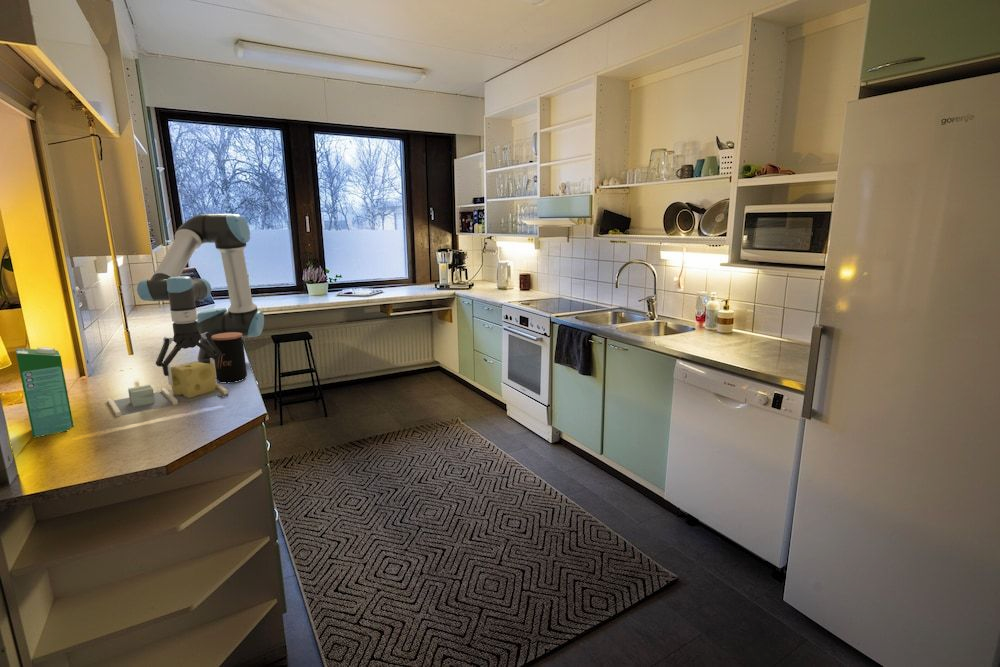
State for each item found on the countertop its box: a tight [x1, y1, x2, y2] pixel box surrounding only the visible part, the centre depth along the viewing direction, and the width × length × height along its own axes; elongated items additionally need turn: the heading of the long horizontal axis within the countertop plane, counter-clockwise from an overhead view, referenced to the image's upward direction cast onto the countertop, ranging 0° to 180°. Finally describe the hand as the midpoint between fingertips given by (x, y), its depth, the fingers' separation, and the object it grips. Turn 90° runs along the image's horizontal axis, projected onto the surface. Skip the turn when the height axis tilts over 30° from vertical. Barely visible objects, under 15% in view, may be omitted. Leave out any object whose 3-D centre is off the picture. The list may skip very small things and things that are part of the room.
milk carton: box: [14, 346, 75, 438], centre depth 148 cm, size 9×9×25 cm
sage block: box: [127, 384, 155, 407], centre depth 170 cm, size 6×6×5 cm
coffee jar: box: [211, 332, 248, 384], centre depth 198 cm, size 11×11×18 cm
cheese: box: [170, 361, 217, 398], centre depth 180 cm, size 10×11×10 cm
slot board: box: [106, 381, 229, 417], centre depth 176 cm, size 19×32×2 cm, turn 134°
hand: (193, 380), depth 180 cm, fingers open, 13 cm apart
